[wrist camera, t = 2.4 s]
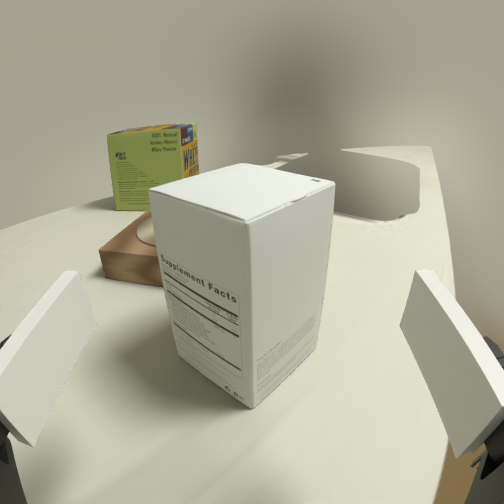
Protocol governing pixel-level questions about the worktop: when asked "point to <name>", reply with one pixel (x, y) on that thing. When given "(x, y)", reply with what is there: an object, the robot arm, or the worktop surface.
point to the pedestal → (133, 254)
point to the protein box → (150, 161)
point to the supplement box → (244, 271)
